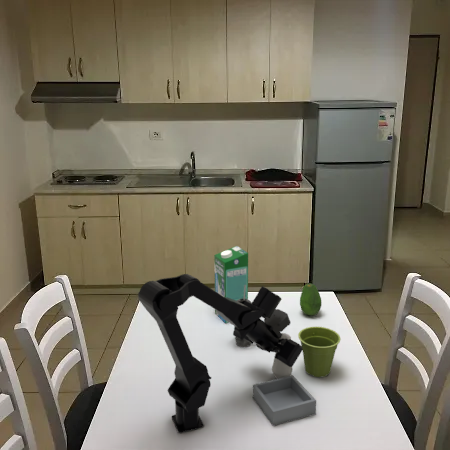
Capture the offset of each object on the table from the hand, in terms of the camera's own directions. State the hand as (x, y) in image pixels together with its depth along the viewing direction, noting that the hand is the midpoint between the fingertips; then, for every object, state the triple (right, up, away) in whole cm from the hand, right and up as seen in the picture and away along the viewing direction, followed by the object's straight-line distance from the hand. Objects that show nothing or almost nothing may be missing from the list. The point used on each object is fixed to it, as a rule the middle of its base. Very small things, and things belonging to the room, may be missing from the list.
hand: (286, 354), depth 137 cm
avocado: (+14, +4, +39) cm, 41 cm away
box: (-2, -10, -12) cm, 16 cm away
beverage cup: (-12, -2, +19) cm, 22 cm away
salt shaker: (-1, -7, +1) cm, 7 cm away
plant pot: (+10, -6, +4) cm, 12 cm away
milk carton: (-15, +4, +38) cm, 41 cm away
